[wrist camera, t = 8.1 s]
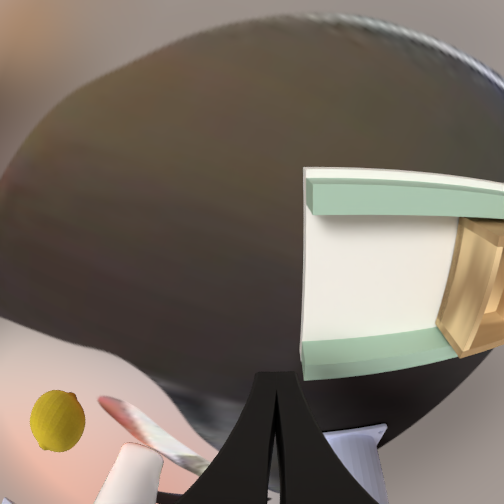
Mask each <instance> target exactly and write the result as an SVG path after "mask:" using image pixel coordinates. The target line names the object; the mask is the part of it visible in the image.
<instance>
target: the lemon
mask: <svg viewBox="0 0 504 504" xmlns="http://www.w3.org/2000/svg"><path fill="white" fill-rule="evenodd" d="M30 427H31V430H32V433H33V435H34V437H35V438H36V440H37V441H38V442H39V446H40V447H41V448H42V449H43V450H50V451H54V452H64V451H67V450H69V449H71V448H72V447H73V446H75V444H76V443H77V442H78V441H79V439H80V438H81V436H82V434H83V431H84V427H85V415H84V411H83V408H82V407H81V405H80V403H79V402H78V401H77V397H76V395H75V394H74V393H71V392H69V393H66V392H64V391H60V390H52V391H49V392H47V393H45V394H43V395H42V396H41V397H40V398H39V399H38V400H37V401H36V403H35V405H34V407H33V409H32V413H31V417H30Z"/></svg>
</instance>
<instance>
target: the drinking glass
mask: <svg viewBox="0 0 504 504" xmlns="http://www.w3.org/2000/svg"><path fill="white" fill-rule="evenodd" d="M163 463H164V461H163V458H162V456H161V455H160V454H159V453H157V452H156V451H154V450H152V449H151V448H148V447H146V446H143V445H141V444H137V443H125V444H123V445H122V447H121V449H120V452H119V454H118V457H117V459H116V461H115V463H114V465H113V467H112V469H111V471H110V472H109V475H108V476H107V478H106V480H105V482H104V484H103V486H102V488H101V490H100V492H99V494H98V496H97V498H96V500H95V502H94V504H156V497H157V491H158V484H159V479H160V474H161V470H162V467H163Z"/></svg>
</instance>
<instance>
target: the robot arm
mask: <svg viewBox="0 0 504 504" xmlns="http://www.w3.org/2000/svg"><path fill="white" fill-rule="evenodd" d="M386 429H387V425H386V424H379V425H374V426H368V427H362V428H356V429H349V430H341V431H333V432H324V433H322V431H321V429H320V427H319V426H318V424H317V422H316V420H315V418H314V416H313V414H312V412H311V410H310V408H309V405H308V403H307V401H306V398H305V396H304V394H303V391H302V388H301V385H300V382H299V379H298V375H297V373H296V372H258V373H256V374H255V378H254V382H253V386H252V389H251V392H250V394H249V397H248V399H247V402H246V404H245V407H244V409H243V411H242V413H241V415H240V417H239V419H238V421H237V423H236V425H235V427H234V428H233V430H232V432H231V434H230V435H229V437H228V439H227V440H226V442H225V444H224V445H223V447H222V448H221V450H220V451H219V453H218V454H217V456H216V457H215V458H214V460H213V461H212V462H211V464H210V465H209V466H208V468H207V469H206V470H205V471H204V472H203V474H202V475H201V476H200V477H199V478H198V479H197V481H196V482H195V483H194V484H193V485H192V486H191V487H190V488H189V489H188V490H187V491H186V492H185V493H184V494H183V495H182V496H181V497H180V498H179V499H178V500H177V501H176V502H175V503H173V504H267V496H268V483H269V475H270V468H271V460H272V453H273V445H274V437H275V434H276V444H277V455H278V466H279V477H280V504H389V502H388V496H387V491H386V487H385V482H384V477H383V473H382V468H381V464H380V459H379V455H378V451H377V447H376V446H377V444H378V443H379V441H380V439H381V438H382V436H383V434H384V432H385V431H386ZM2 504H15V503H14V502H12V501H11V500H9V499H8V498H6V497H5V498H4V500H3V502H2Z"/></svg>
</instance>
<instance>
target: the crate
mask: <svg viewBox="0 0 504 504" xmlns="http://www.w3.org/2000/svg"><path fill="white" fill-rule="evenodd" d="M435 324H436V326H437V327H438V328H439V330H440V331H441V332H442V334H443V335H444V337H445V338H446V339H447V341H448V342H449V344H450V345H451V347H452V348H453V349H454V351H455V352H456V354H457V355H458V357H459V358H463V357H466V356H470V355H473V354H476V353H480V352H483V351H486V350H489V349H492V348H495V347H498V346H500V345H503V344H504V219H497V218H479V217H459V223H458V230H457V236H456V242H455V247H454V253H453V258H452V262H451V267H450V271H449V276H448V280H447V284H446V288H445V291H444V295H443V299H442V302H441V306H440V309H439V312H438V315H437V319H436V322H435Z"/></svg>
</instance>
